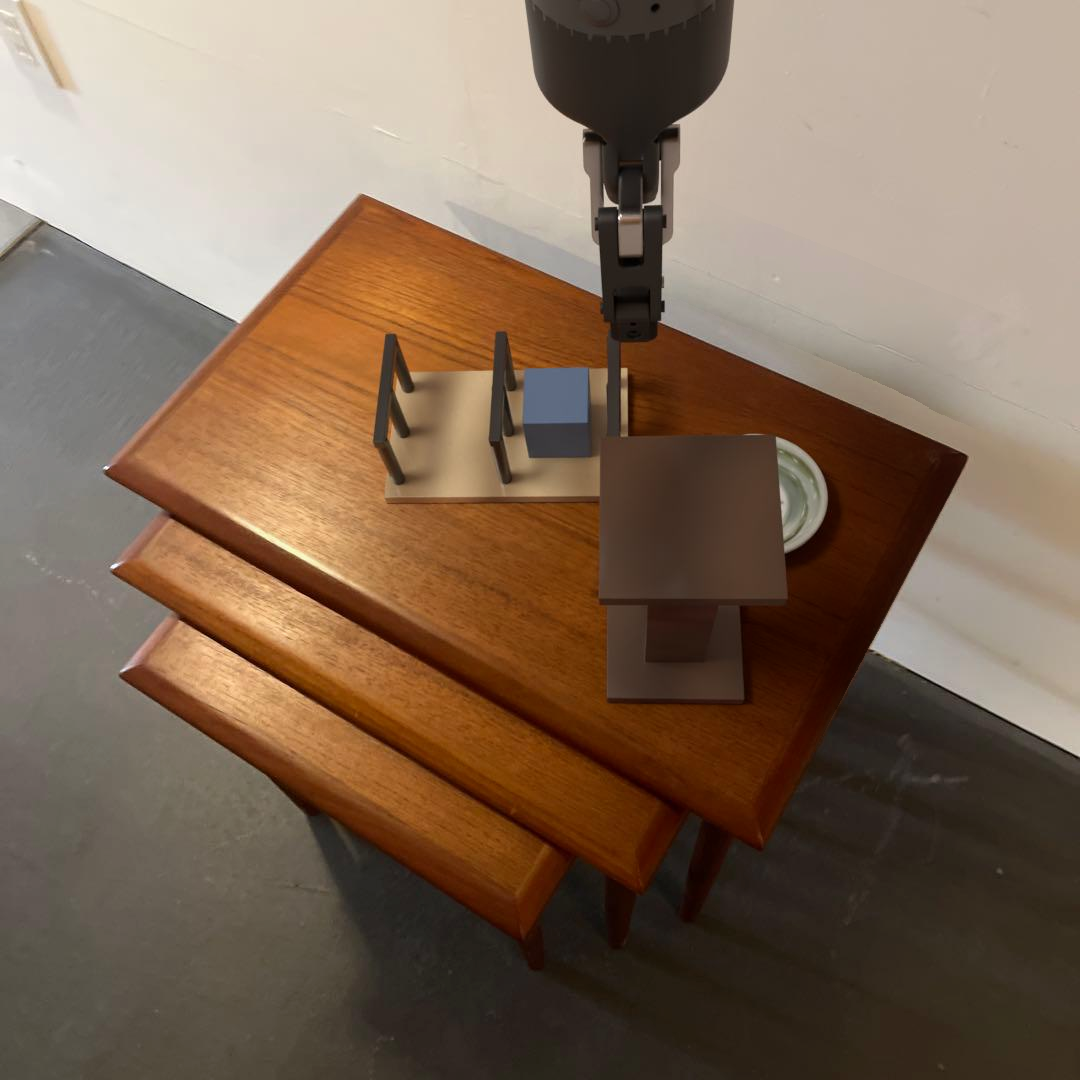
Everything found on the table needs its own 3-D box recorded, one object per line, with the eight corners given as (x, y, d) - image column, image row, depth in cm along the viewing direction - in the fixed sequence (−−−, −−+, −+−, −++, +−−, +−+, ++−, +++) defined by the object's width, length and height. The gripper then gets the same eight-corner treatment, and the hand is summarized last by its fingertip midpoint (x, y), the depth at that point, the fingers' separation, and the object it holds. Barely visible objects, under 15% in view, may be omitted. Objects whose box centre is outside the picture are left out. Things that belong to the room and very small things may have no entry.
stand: (736, 578, 68) (775, 434, 50) (742, 704, 64) (788, 598, 46) (607, 578, 69) (600, 436, 51) (606, 702, 65) (598, 598, 47)
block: (591, 404, 74) (588, 366, 69) (590, 457, 72) (588, 422, 67) (530, 405, 74) (524, 367, 69) (528, 458, 72) (522, 423, 68)
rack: (627, 374, 76) (627, 316, 69) (628, 501, 71) (628, 452, 64) (400, 378, 77) (378, 322, 70) (386, 503, 73) (362, 455, 66)
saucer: (793, 434, 72) (798, 416, 70) (843, 548, 68) (850, 533, 66) (668, 468, 72) (669, 452, 70) (711, 585, 68) (714, 572, 66)
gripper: (748, 95, 30) (715, 384, 45) (730, -184, 36) (707, 152, 51) (509, 108, 31) (554, 387, 46) (529, -168, 37) (563, 159, 52)
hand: (634, 264), depth 48 cm, fingers open, 8 cm apart
